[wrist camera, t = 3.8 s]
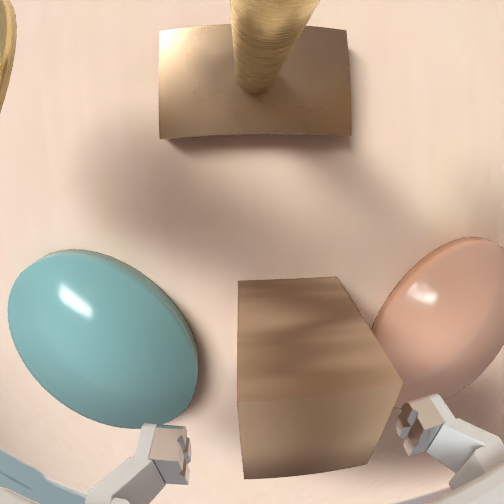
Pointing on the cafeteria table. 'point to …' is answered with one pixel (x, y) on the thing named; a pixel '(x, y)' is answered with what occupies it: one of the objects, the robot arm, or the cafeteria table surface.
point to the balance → (242, 73)
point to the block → (308, 379)
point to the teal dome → (103, 339)
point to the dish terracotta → (445, 319)
